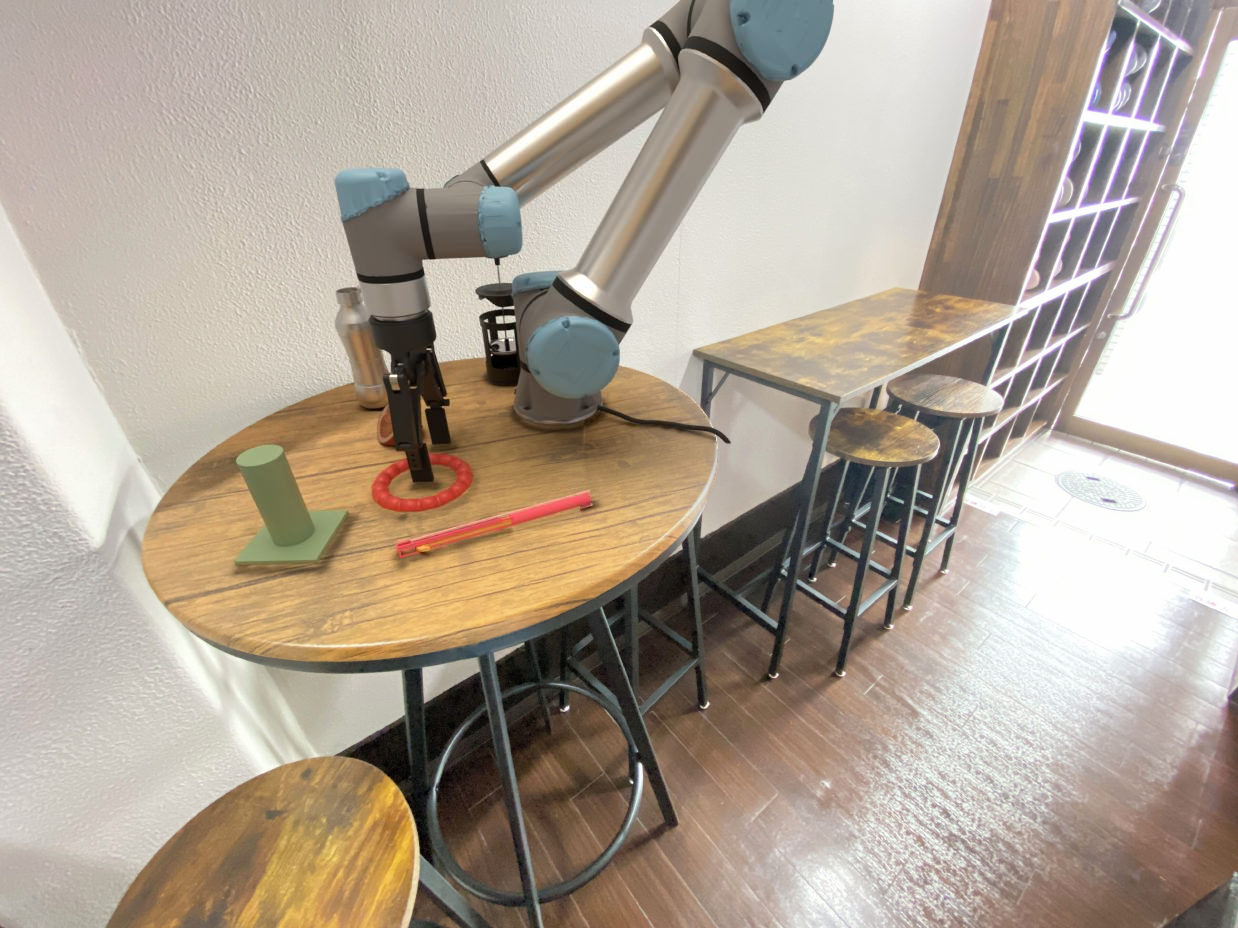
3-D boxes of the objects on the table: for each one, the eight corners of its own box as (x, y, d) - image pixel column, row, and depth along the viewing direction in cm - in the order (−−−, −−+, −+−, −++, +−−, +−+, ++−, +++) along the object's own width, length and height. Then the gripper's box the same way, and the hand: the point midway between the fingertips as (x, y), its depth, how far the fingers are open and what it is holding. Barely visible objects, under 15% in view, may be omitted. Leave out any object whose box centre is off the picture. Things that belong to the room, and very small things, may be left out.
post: (351, 519, 68) (321, 433, 61) (320, 569, 60) (281, 477, 53) (278, 520, 67) (240, 434, 60) (238, 571, 60) (189, 479, 53)
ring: (481, 461, 79) (479, 450, 78) (462, 516, 68) (459, 504, 67) (392, 463, 78) (389, 451, 77) (359, 518, 68) (354, 506, 66)
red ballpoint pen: (398, 552, 63) (400, 567, 59) (394, 536, 63) (395, 549, 59) (584, 499, 72) (597, 509, 68) (582, 484, 72) (595, 493, 67)
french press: (501, 391, 99) (484, 262, 86) (474, 376, 105) (454, 253, 92) (551, 374, 106) (542, 251, 93) (523, 361, 111) (511, 244, 99)
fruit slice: (374, 435, 85) (366, 407, 83) (416, 424, 88) (410, 397, 86) (386, 459, 79) (378, 429, 77) (431, 446, 82) (425, 417, 80)
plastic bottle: (407, 401, 95) (379, 288, 85) (374, 416, 91) (340, 298, 80) (384, 393, 98) (354, 282, 88) (351, 407, 94) (315, 292, 83)
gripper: (397, 288, 75) (428, 428, 87) (331, 344, 56) (382, 512, 68) (451, 288, 75) (474, 427, 87) (403, 343, 56) (441, 511, 68)
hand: (434, 465), depth 78 cm, fingers open, 9 cm apart
